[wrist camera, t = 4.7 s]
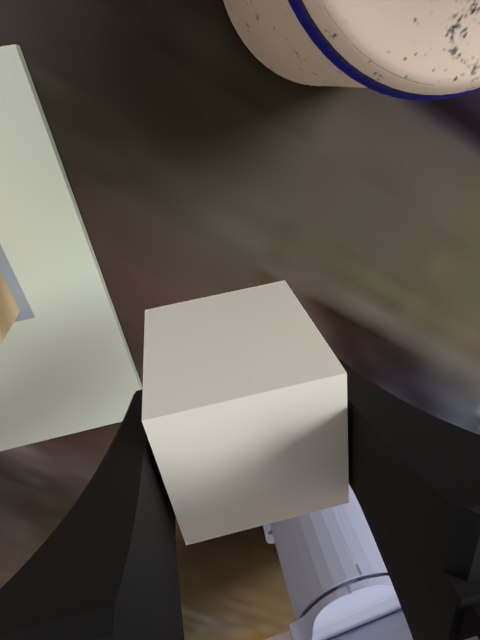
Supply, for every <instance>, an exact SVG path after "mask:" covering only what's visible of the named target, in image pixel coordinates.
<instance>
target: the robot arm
mask: <svg viewBox="0 0 480 640" xmlns="http://www.w3.org/2000/svg"><path fill="white" fill-rule="evenodd" d="M337 359H338V360H339V362H340V363H341V365H342V366H343V368H344V369H345V371H346V372H347V408H348V470H349V503H346V504H343V505H339V506H335V507H331V508H327V509H324V510H320V511H316V512H312V513H308V514H304V515H301V516H297V517H293V518H289V519H285V520H281V521H278V522H274V523H270V524H266V525H263V528H264V533H265V538H266V541H267V543H269V544H273V543H275V545H276V549H277V553H278V557H279V560H280V564H281V568H282V572H283V575H284V579H285V583H286V587H287V590H288V594H289V598H290V602H291V605H292V609H293V613H294V617H295V620H296V621H294V622H292V623H290V624H289V629H290V633H291V637H292V640H480V435H478V434H476V433H473V432H470V431H468V430H465V429H463V428H460V427H458V426H455V425H453V424H450V423H448V422H445V421H443V420H441V419H439V418H436V417H434V416H432V415H430V414H428V413H426V412H424V411H422V410H420V409H418V408H416V407H414V406H412V405H410V404H408V403H406V402H404V401H403V400H401V399H399V398H397V397H396V396H394V395H392V394H391V393H389V392H387V391H385V390H384V389H382V388H381V387H379V386H378V385H376V384H375V383H373V382H372V381H370V380H369V379H367V378H366V377H364V376H363V375H361V374H360V373H358V372H357V371H355V370H354V369H353V368H351V367H350V366H349V365H347V364H346V363H344V362H343V361H342V360H340V359H339V358H338V357H337ZM142 393H143V389H142V390H138V391H136V392H135V393H134V395H133V397H132V400H131V402H130V405H129V407H128V410H127V412H126V414H125V416H124V419H123V421H122V423H121V425H120V427H119V429H118V431H117V433H116V435H115V437H114V439H113V441H112V443H111V445H110V447H109V449H108V451H107V453H106V455H105V456H104V458H103V460H102V462H101V463H100V465H99V467H98V469H97V470H96V472H95V474H94V475H93V477H92V479H91V480H90V482H89V483H88V485H87V486H86V488H85V489H84V491H83V492H82V494H81V495H80V497H79V498H78V500H77V501H76V503H75V504H74V505H73V507H72V508H71V509H70V511H69V512H68V513H67V515H66V516H65V517H64V519H63V520H62V521H61V523H60V524H59V525H58V526H57V528H56V529H55V530H54V531H53V533H52V534H51V535H50V536H49V538H48V539H47V540H46V541H45V542H44V543H43V544H42V546H41V547H40V548H39V549H38V550H37V551H36V552H35V554H34V555H33V556H32V557H31V558H30V559H29V560H28V561H27V562H26V563H25V565H24V566H23V567H22V568H21V569H20V570H19V571H18V572H17V573H16V574H15V575H14V576H13V577H12V578H11V579H10V580H9V581H8V582H7V583H6V584H5V585H4V586H3V587H2V588H1V589H0V640H184V631H183V622H182V612H181V602H180V592H179V581H178V570H177V559H176V540H175V519H176V516H175V513H174V510H173V507H172V504H171V502H170V499H169V496H168V493H167V490H166V488H165V485H164V482H163V479H162V476H161V474H160V471H159V468H158V465H157V462H156V460H155V457H154V454H153V451H152V448H151V446H150V443H149V440H148V437H147V434H146V432H145V429H144V426H143V423H142Z"/></svg>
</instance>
